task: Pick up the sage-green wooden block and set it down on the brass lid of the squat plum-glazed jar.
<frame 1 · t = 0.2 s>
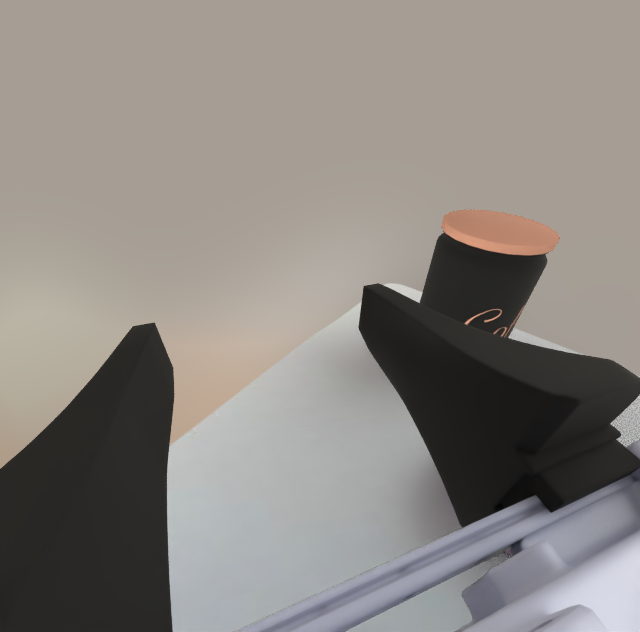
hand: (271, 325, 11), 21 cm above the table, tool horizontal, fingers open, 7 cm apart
coffee jar: (446, 357, 41), on the table
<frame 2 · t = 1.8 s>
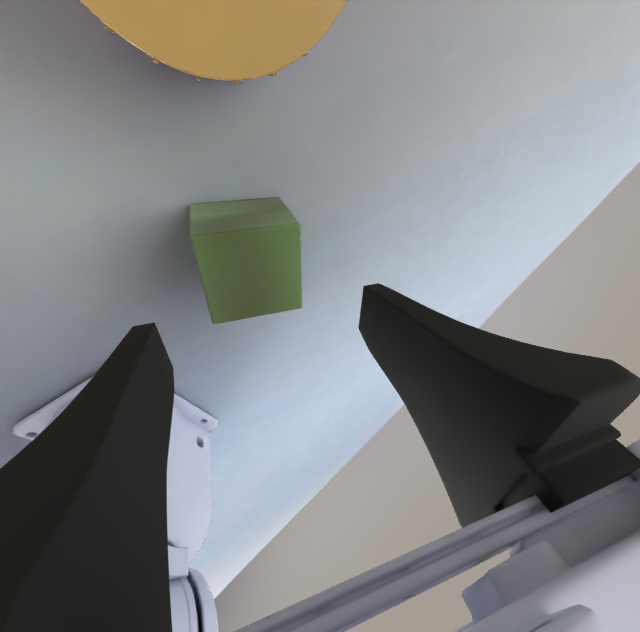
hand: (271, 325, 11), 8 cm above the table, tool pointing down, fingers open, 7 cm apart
block: (242, 241, 16), on the table
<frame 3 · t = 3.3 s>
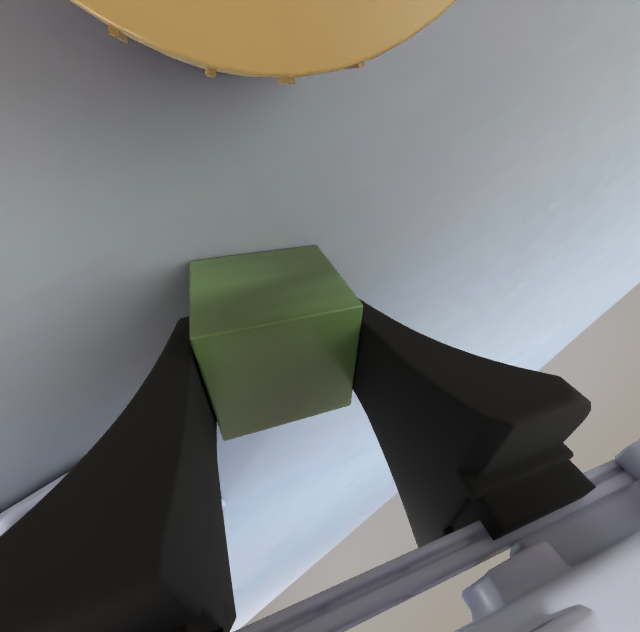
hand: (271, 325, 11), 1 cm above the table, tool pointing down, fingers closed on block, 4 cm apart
block: (262, 303, 12), on the table, touching gripper
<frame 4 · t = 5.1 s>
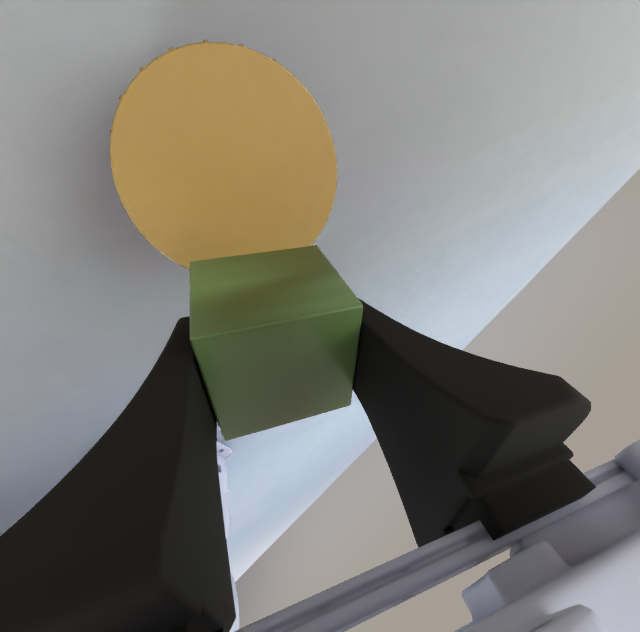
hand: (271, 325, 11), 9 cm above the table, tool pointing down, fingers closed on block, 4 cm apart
lid: (236, 183, 12), point 4 cm above the table, screwed on, not yet turned
block: (262, 303, 12), point 8 cm above the table, touching gripper
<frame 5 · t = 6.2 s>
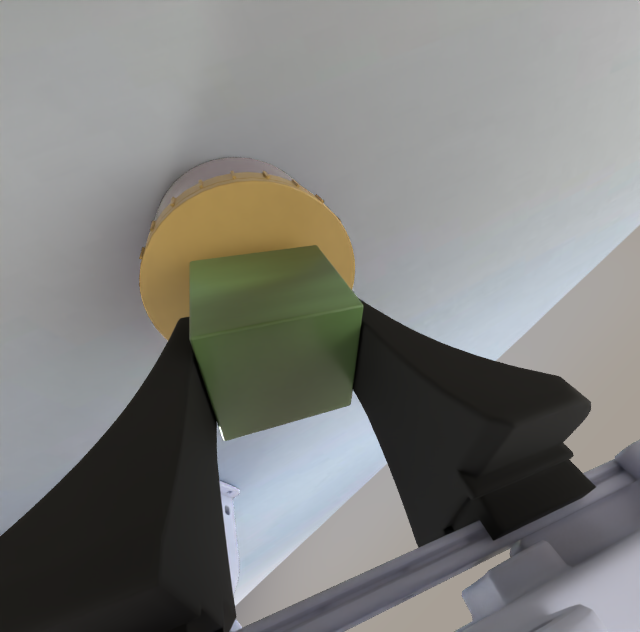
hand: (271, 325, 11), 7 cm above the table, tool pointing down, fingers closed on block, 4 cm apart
jar: (244, 245, 16), on the table
lid: (258, 286, 13), point 4 cm above the table, screwed on, not yet turned
block: (262, 303, 12), point 6 cm above the table, touching gripper
when the fingers open (6 cm above the table, at t = 6.9 s): block stays where it is, resting on lid.
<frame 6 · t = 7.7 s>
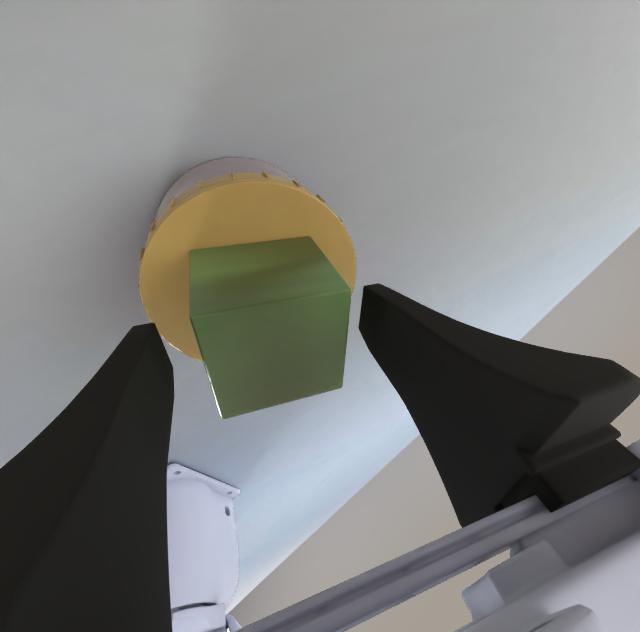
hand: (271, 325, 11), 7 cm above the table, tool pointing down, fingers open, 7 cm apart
jar: (244, 245, 16), on the table
lid: (258, 287, 13), point 4 cm above the table, screwed on, not yet turned, touching block
block: (259, 292, 12), point 5 cm above the table, touching lid
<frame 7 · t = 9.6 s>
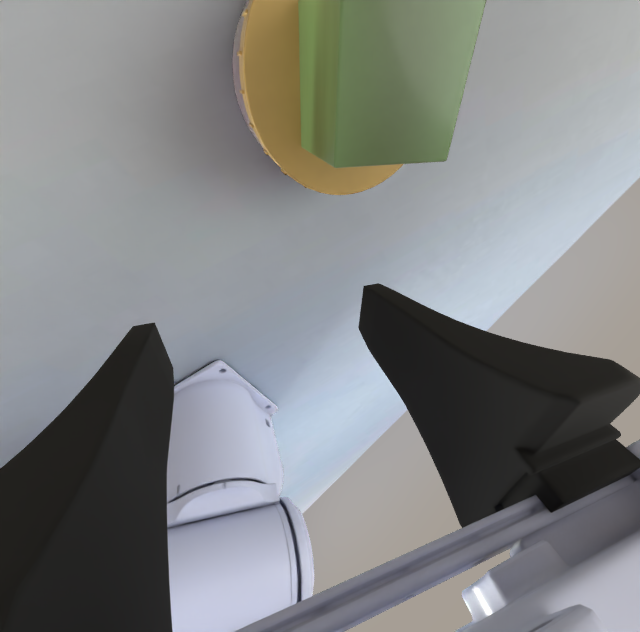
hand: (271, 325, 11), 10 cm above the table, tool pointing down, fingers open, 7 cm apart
jar: (316, 82, 16), on the table
lid: (349, 83, 12), point 4 cm above the table, screwed on, not yet turned, touching block
block: (352, 83, 12), point 5 cm above the table, touching lid
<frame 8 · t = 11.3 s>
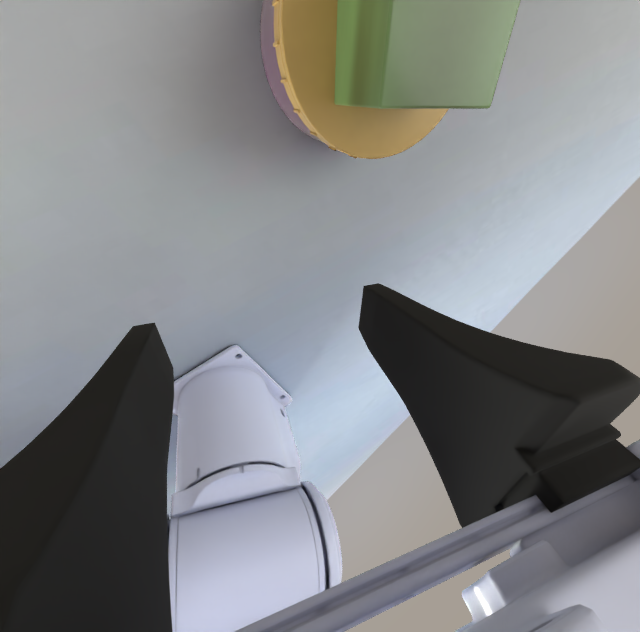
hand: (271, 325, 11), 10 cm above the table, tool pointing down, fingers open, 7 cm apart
jar: (342, 49, 15), on the table
lid: (383, 38, 12), point 4 cm above the table, screwed on, not yet turned, touching block
block: (388, 35, 12), point 5 cm above the table, touching lid
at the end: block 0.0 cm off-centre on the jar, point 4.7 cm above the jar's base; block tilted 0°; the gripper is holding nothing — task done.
